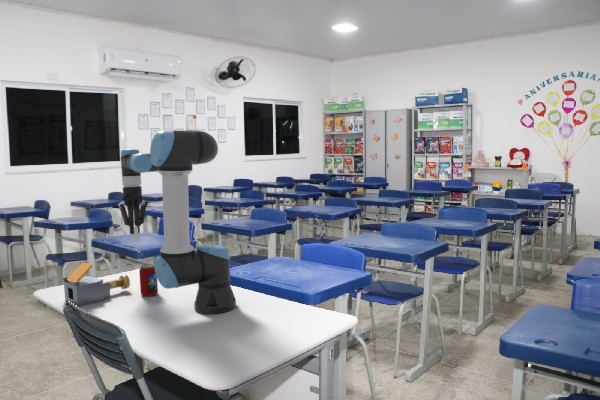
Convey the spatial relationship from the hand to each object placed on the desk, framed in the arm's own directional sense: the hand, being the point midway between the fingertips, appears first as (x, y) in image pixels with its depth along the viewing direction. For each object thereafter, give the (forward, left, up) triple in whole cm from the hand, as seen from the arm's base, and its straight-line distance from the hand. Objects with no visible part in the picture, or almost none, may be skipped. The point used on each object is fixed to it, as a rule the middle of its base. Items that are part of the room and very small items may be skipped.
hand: (135, 241), depth 207 cm
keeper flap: (0, +24, -9) cm, 26 cm away
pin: (0, +13, -19) cm, 23 cm away
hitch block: (0, +21, -20) cm, 29 cm away
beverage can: (-13, +2, -21) cm, 24 cm away
